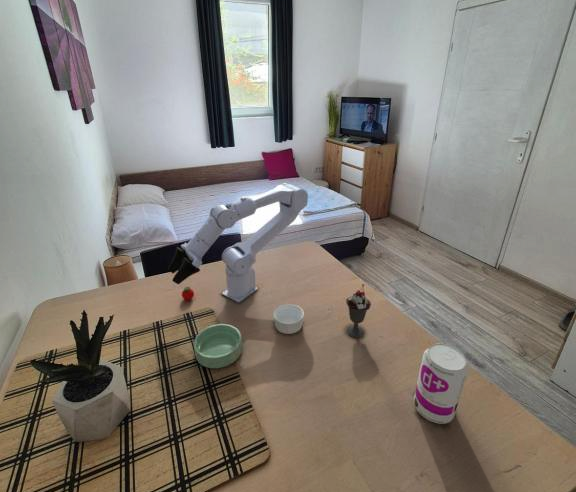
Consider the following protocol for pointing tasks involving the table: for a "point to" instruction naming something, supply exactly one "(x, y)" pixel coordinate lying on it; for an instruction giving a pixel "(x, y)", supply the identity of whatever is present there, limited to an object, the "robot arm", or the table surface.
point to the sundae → (357, 312)
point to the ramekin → (288, 318)
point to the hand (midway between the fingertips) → (172, 276)
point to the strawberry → (187, 293)
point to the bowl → (218, 346)
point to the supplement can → (440, 383)
